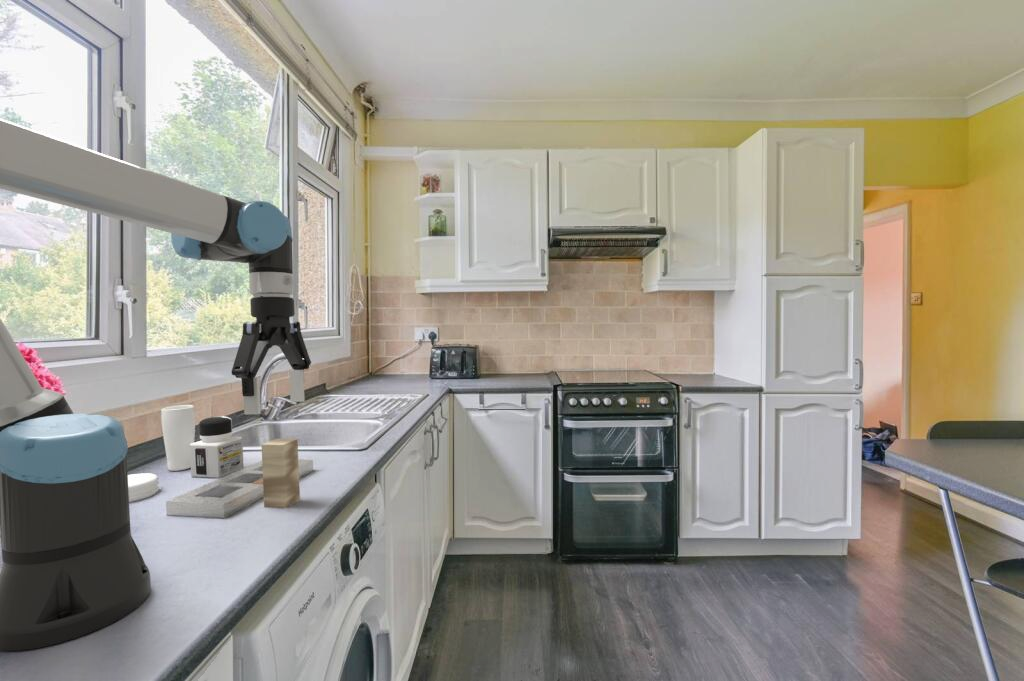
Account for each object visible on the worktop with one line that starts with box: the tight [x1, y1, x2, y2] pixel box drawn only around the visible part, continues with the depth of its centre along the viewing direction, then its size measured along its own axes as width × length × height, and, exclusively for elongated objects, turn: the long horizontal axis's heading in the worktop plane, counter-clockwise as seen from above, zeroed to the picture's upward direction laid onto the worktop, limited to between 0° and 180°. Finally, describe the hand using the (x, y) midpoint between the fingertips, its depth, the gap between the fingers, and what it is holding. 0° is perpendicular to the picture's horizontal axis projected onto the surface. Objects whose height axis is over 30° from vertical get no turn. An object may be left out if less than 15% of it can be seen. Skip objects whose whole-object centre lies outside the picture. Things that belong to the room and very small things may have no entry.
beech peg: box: [261, 438, 301, 509], centre depth 95 cm, size 4×4×12 cm
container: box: [190, 416, 245, 479], centre depth 116 cm, size 8×8×13 cm
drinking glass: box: [160, 404, 196, 472], centre depth 120 cm, size 7×7×15 cm
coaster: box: [128, 472, 160, 503], centre depth 101 cm, size 10×10×4 cm
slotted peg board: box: [165, 458, 314, 519], centre depth 103 cm, size 28×12×3 cm, turn 170°
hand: (276, 407), depth 95 cm, fingers open, 13 cm apart
